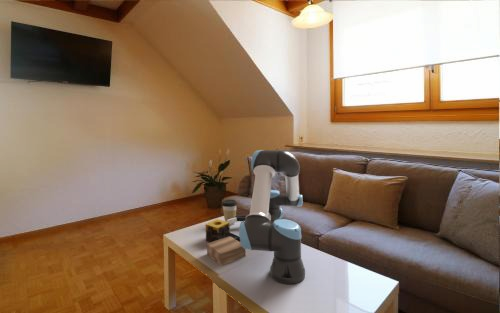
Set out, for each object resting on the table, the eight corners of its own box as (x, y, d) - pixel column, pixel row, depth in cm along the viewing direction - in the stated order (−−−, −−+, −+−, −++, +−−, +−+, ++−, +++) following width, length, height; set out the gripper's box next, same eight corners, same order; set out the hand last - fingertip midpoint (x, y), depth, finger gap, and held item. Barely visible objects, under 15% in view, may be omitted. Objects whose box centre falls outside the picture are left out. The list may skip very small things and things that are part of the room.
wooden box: (245, 256, 134) (245, 245, 133) (221, 266, 126) (221, 254, 125) (230, 246, 145) (229, 236, 145) (207, 254, 137) (206, 243, 136)
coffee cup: (240, 222, 179) (240, 200, 177) (231, 227, 170) (231, 204, 168) (228, 219, 184) (227, 198, 182) (219, 224, 176) (218, 202, 174)
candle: (218, 245, 146) (217, 228, 145) (205, 241, 152) (204, 224, 151) (230, 239, 154) (230, 222, 153) (217, 234, 160) (217, 218, 159)
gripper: (274, 229, 160) (245, 238, 148) (250, 217, 181) (223, 225, 169) (274, 217, 159) (244, 225, 147) (250, 206, 180) (222, 213, 168)
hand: (233, 225), depth 158 cm, fingers open, 13 cm apart
